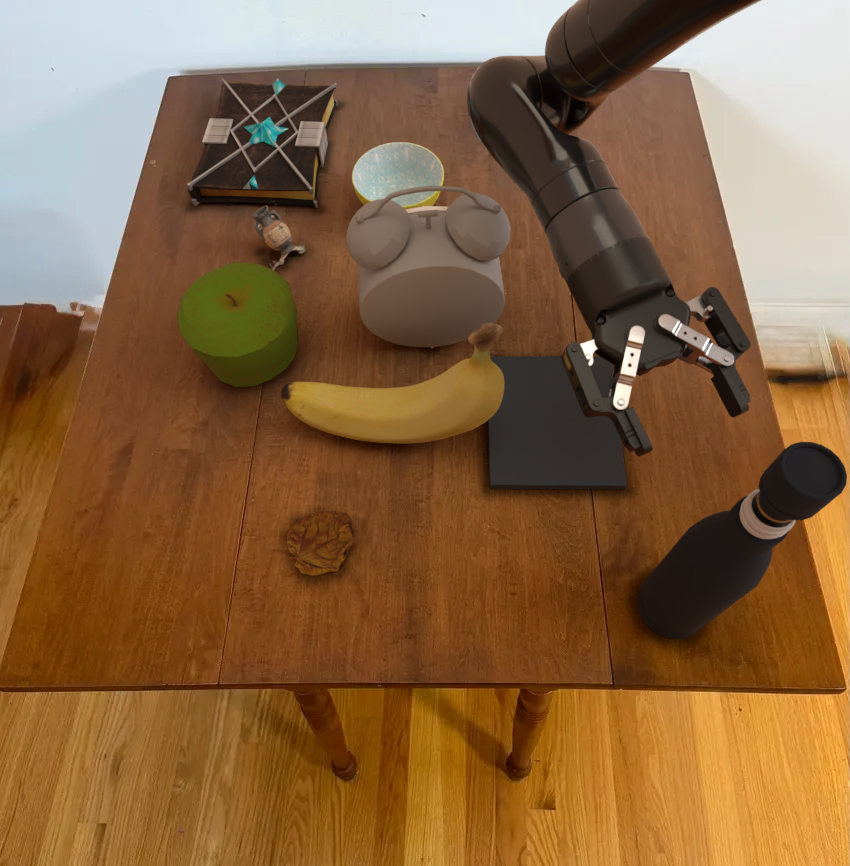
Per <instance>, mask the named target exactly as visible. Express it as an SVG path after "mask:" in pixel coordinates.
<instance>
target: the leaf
mask: <svg viewBox="0 0 850 866" xmlns="http://www.w3.org/2000/svg"><path fill="white" fill-rule="evenodd" d="M353 528H354V527H353V521H352V518H351V516H350V514H349V513H347V512H338V511H336V510H334V509H332V510H331V511H328V510H325V511H324V510H318V511H314V512H313V513H312V514H311V515H308V516H307V517H305V518H302V519H301V520H299V521H298V522H295V523H293V524H292V526H291V527H290V529H289V531H288V533H287V535H285V536H286V538H287V539H286V540H285V542H286V544H287V547H288V551H289V553H290V554H293V555H294V556H295V557H294V556H293V557H289V559H296V561H295V563H294V567H295V568H297V569H298V571H299V573H300V574H302V575H307V576H312V577H314V576H315V577H316V576H318V575H324V574H327V573H335V572H339V571H340V567H341V566H342V564H343V563H344V561H345V560H346V557H347V554H348V551H349V549H350V548H351V547H352V546H353V545H354V544H355V534H354V529H353Z"/></svg>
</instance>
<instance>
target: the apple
mask: <svg viewBox="0 0 850 866" xmlns="http://www.w3.org/2000/svg"><path fill="white" fill-rule="evenodd" d="M177 323H178V329H179V333H180V335H181V337H182V338H183V339H184V341H185V342H186V343H187V345H188V346H189V347H190V349H191V350H192V351H193V352H194V354H196V356H197V357H198V358H199V359H200V360H201V361H203V362H204V363H205V365H206V366H207V367H208V369H209V370H210V371H211V373H213V374H214V375H215V376H216V378H217V379H218V380H219V381H220V382H222V383H225V384H227V385H230V386H233V387H234V388H244V387H245V388H246V387H256V386H258V385H261V384H264V383H266V382H268V381H270V380H272V379H274V378H275V377H277V376H278V375H280V374H281V373H282V372H283V371H285V370H287V368H288V367H289V365H290V364H291V363H292V361H293V360H294V358H295V357H296V353H297V349H298V345H299V335H298V334H299V333H298V327H297V326H298V308H297V304H296V302H295V299H294V294H293V292H292V289H291V285H290V282H289V281H287V279H285V278H284V277H283V276H282V275H280V273H278V271H276V269H274V270H273V269H272V268H270V267H267V266H265V265H262V264H260V263H257V262H239V261H234V262H231V263H230V262H229V263H228V264H225V265H222V266H219V267H217V268H214V269H212V270H210V271H209V272H207V273H204V274H203V275H201V276H199V277H197V278H196V280H195V281H194V282H193V283H192V284H191V285H190V286H189V287H188V289H186V291H185V292H184V293H183V294H182V296H181V297H180V302H179V306H178V310H177Z"/></svg>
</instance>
